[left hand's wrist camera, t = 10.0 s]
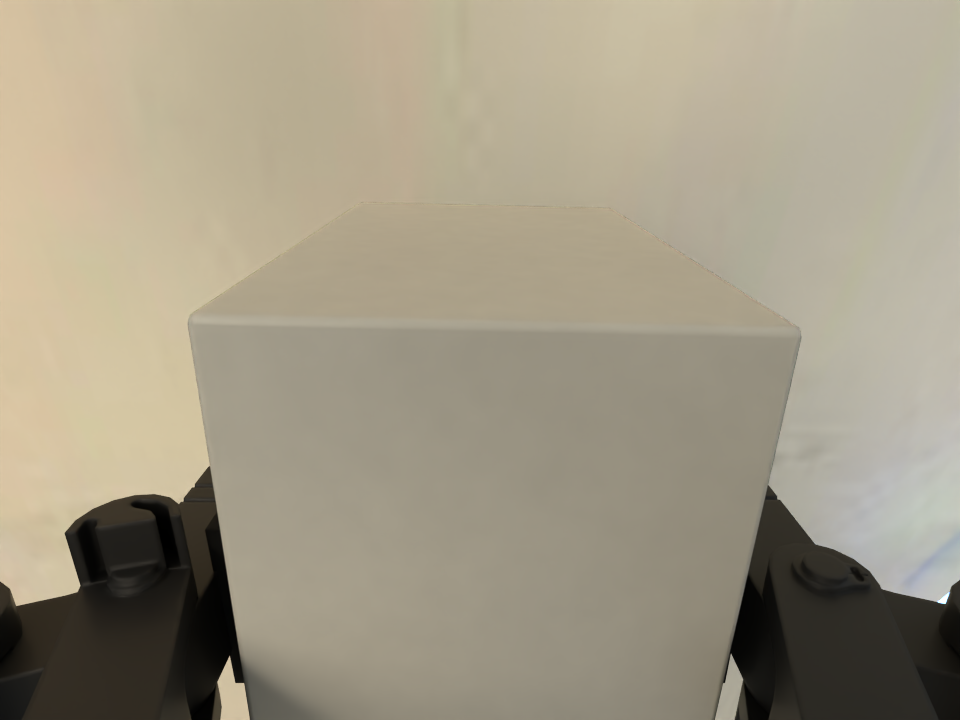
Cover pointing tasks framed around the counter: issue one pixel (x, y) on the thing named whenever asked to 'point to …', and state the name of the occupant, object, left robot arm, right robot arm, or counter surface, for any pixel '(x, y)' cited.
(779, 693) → the left robot arm
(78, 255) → the counter surface
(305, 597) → the post
